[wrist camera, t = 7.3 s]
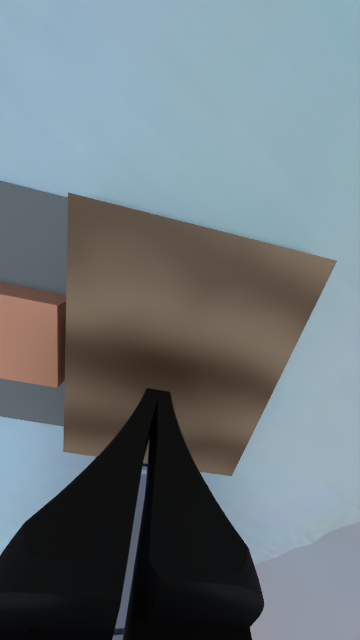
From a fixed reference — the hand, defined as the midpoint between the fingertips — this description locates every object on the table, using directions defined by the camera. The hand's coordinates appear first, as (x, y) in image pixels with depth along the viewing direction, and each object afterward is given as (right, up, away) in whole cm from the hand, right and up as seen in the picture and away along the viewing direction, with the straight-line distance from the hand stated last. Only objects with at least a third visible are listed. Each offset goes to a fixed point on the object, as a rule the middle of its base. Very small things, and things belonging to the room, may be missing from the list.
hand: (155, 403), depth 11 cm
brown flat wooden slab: (+1, +2, +4) cm, 5 cm away
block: (-10, +4, +3) cm, 12 cm away
